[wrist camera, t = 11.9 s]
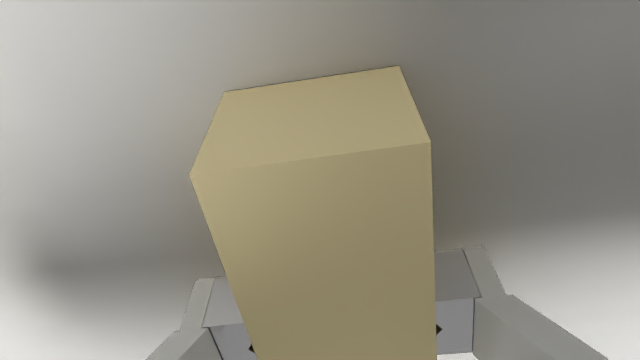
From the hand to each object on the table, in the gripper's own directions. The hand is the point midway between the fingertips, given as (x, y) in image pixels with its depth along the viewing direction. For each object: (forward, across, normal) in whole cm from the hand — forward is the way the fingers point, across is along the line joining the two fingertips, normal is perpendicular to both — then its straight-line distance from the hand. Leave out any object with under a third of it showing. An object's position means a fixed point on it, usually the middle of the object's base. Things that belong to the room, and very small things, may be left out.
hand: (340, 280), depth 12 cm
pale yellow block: (+2, 0, 0) cm, 2 cm away
